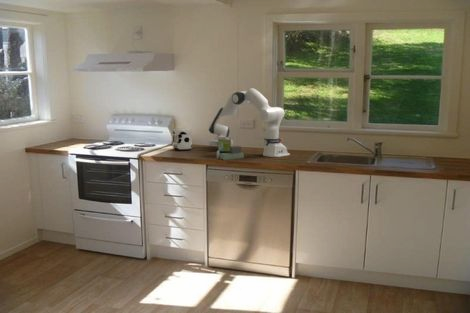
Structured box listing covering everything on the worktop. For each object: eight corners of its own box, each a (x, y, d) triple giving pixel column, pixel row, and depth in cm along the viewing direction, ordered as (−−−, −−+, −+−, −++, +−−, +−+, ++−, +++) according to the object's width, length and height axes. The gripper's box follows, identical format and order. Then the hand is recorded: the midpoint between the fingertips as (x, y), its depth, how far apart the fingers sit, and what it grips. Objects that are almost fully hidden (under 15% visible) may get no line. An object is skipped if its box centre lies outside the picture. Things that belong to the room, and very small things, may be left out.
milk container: (193, 148, 407) (192, 128, 403) (191, 151, 390) (191, 130, 386) (173, 148, 406) (173, 128, 403) (171, 151, 389) (170, 130, 386)
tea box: (231, 157, 361) (231, 139, 358) (218, 157, 361) (218, 139, 358) (230, 154, 376) (230, 136, 373) (218, 154, 375) (217, 136, 373)
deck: (238, 156, 367) (238, 145, 365) (243, 157, 359) (243, 146, 358) (216, 158, 357) (216, 147, 356) (221, 160, 350) (221, 148, 348)
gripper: (208, 138, 397) (208, 140, 383) (231, 137, 398) (233, 140, 385) (208, 145, 398) (209, 147, 384) (231, 145, 400) (233, 147, 386)
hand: (221, 144), depth 385 cm, fingers closed
